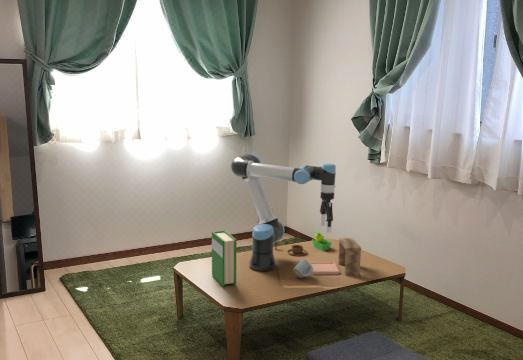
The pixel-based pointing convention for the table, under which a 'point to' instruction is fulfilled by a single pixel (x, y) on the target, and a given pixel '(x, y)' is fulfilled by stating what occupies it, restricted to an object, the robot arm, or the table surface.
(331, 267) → the tray
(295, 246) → the place setting
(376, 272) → the table surface
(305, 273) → the ceramic mug
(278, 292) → the table surface
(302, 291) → the table surface
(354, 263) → the shelf
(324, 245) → the fruit basket
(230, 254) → the hardback book
